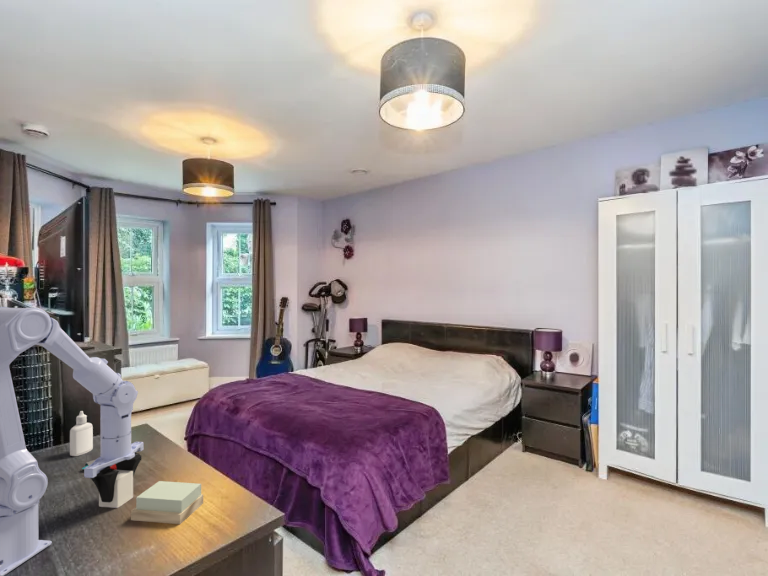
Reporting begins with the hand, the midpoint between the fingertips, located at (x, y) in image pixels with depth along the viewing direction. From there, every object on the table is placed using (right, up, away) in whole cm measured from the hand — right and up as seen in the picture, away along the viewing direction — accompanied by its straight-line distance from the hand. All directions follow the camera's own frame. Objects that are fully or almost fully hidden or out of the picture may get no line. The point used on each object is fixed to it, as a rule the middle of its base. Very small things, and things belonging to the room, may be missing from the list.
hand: (116, 495), depth 90 cm
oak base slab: (+14, -2, -4) cm, 14 cm away
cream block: (0, -1, 0) cm, 1 cm away
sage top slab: (+14, 0, -4) cm, 14 cm away
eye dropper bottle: (-28, -2, +27) cm, 39 cm away
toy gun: (-13, -2, +18) cm, 22 cm away
